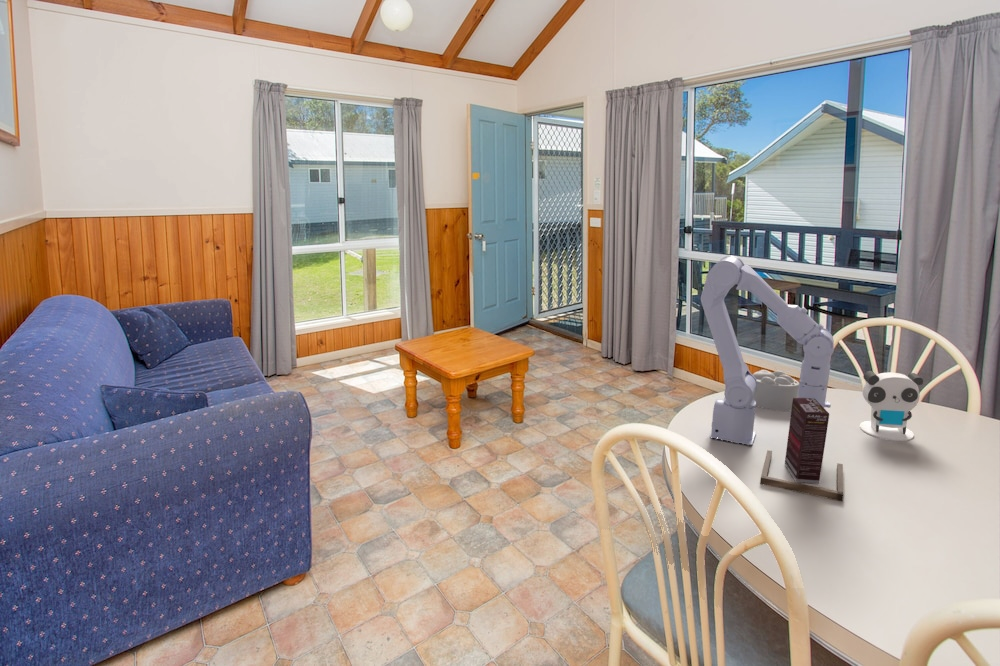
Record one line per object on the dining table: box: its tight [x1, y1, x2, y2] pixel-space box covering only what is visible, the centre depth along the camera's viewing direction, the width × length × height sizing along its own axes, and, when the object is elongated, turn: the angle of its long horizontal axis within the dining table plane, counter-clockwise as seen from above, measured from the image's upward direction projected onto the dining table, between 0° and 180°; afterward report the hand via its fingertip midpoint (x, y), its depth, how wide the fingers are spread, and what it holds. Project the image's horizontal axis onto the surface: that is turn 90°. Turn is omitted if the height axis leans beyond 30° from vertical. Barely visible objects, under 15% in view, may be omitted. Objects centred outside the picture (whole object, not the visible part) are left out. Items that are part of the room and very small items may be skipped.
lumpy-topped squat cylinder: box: [751, 369, 799, 412], centre depth 165 cm, size 10×13×9 cm
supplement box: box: [784, 398, 830, 485], centre depth 126 cm, size 9×5×16 cm, turn 171°
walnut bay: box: [759, 449, 844, 502], centre depth 126 cm, size 15×14×2 cm
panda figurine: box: [859, 370, 924, 442], centre depth 146 cm, size 12×11×15 cm
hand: (805, 437), depth 138 cm, fingers closed
